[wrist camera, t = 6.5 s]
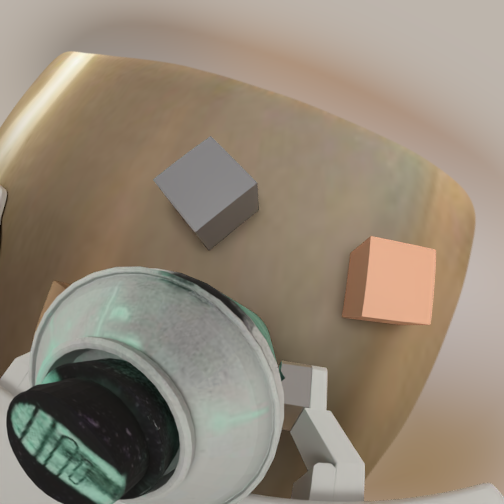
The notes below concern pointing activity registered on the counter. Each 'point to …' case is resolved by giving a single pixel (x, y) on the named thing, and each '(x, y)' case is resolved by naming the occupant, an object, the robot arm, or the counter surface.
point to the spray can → (147, 394)
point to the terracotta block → (390, 283)
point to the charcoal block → (210, 191)
